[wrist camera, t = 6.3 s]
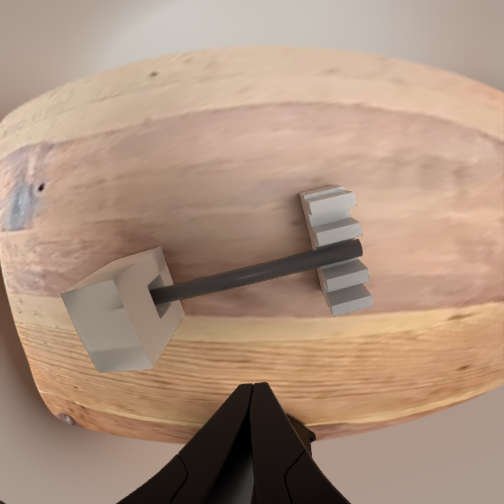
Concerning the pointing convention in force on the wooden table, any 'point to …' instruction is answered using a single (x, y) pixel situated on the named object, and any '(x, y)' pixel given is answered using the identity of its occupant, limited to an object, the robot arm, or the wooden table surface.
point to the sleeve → (124, 312)
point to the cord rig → (303, 258)
